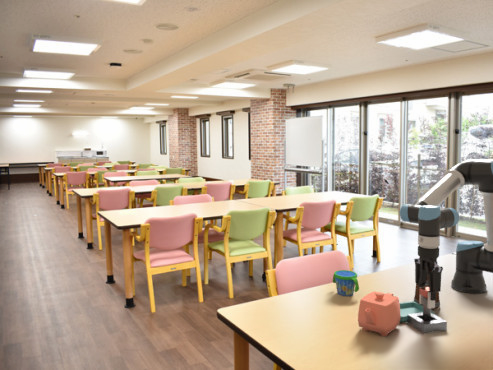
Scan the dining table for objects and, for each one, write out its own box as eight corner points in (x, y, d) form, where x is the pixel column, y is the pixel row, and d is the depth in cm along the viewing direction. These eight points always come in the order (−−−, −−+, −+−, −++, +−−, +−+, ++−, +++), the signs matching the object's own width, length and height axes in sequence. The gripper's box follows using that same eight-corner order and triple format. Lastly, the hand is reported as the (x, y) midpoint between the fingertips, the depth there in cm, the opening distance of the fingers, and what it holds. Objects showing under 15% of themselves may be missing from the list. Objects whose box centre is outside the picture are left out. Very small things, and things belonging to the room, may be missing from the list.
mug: (442, 311, 174) (443, 276, 172) (416, 309, 176) (417, 275, 175) (433, 298, 189) (434, 266, 188) (409, 296, 191) (410, 265, 190)
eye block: (428, 319, 166) (429, 311, 165) (446, 330, 156) (446, 321, 156) (407, 322, 163) (407, 314, 163) (423, 333, 153) (424, 324, 153)
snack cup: (365, 297, 191) (365, 276, 190) (346, 301, 187) (346, 279, 186) (344, 287, 205) (344, 267, 204) (326, 290, 201) (326, 270, 200)
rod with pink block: (417, 324, 161) (418, 287, 160) (427, 323, 162) (428, 286, 161) (425, 329, 157) (426, 291, 155) (435, 328, 158) (436, 290, 156)
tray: (413, 306, 179) (413, 301, 179) (434, 318, 167) (434, 312, 166) (381, 310, 175) (381, 305, 175) (399, 323, 163) (399, 317, 163)
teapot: (382, 345, 145) (383, 306, 144) (349, 334, 154) (350, 297, 152) (406, 324, 162) (406, 289, 160) (375, 316, 170) (375, 282, 169)
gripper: (406, 241, 164) (404, 298, 166) (435, 252, 147) (433, 315, 150) (422, 240, 166) (421, 296, 168) (453, 250, 149) (451, 313, 151)
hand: (426, 305), depth 159 cm, fingers closed on rod with pink block, 4 cm apart
